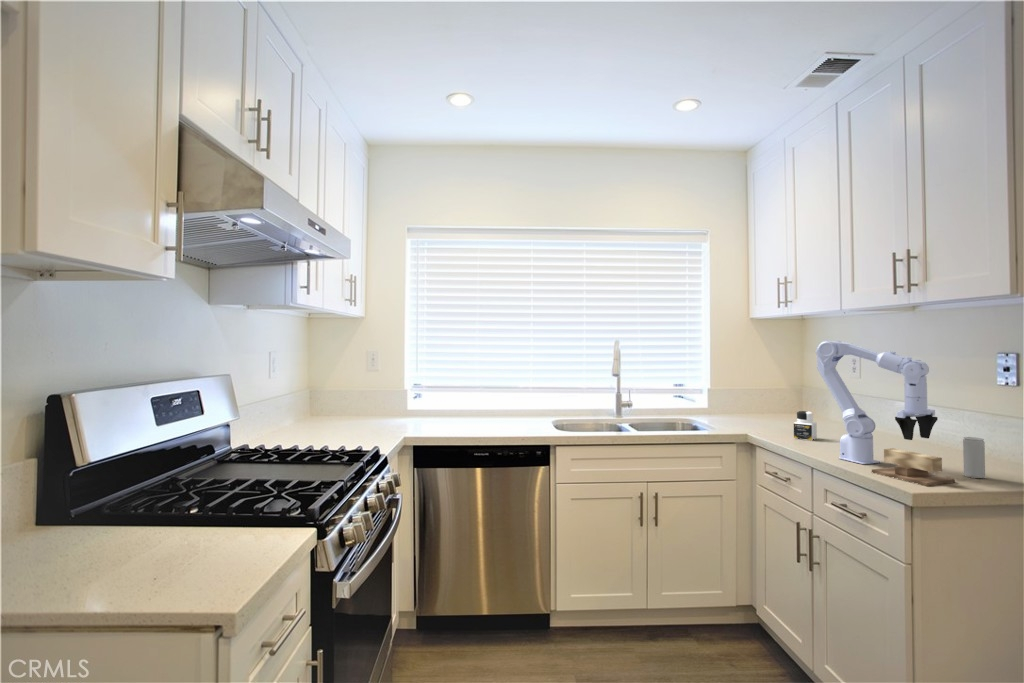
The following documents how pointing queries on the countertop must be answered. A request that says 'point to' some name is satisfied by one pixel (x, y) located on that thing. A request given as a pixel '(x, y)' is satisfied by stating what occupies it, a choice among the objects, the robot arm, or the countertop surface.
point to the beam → (913, 460)
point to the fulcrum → (913, 475)
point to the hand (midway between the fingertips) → (916, 438)
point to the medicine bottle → (805, 426)
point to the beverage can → (974, 457)
